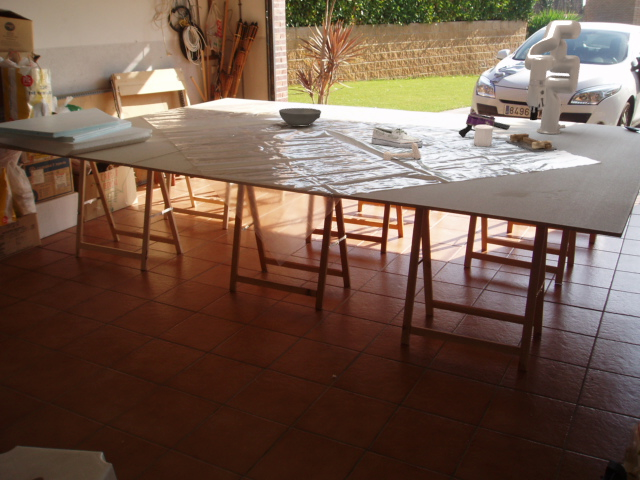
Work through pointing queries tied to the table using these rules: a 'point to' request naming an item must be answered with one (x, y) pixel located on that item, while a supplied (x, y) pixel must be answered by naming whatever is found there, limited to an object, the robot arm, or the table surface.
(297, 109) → the bowl
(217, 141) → the table surface
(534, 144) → the sliding jaw
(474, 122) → the toy gun
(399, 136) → the boat shoe
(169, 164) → the table surface
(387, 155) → the beige knobbed bar
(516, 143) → the strip
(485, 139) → the cup
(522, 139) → the rail
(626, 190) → the table surface
